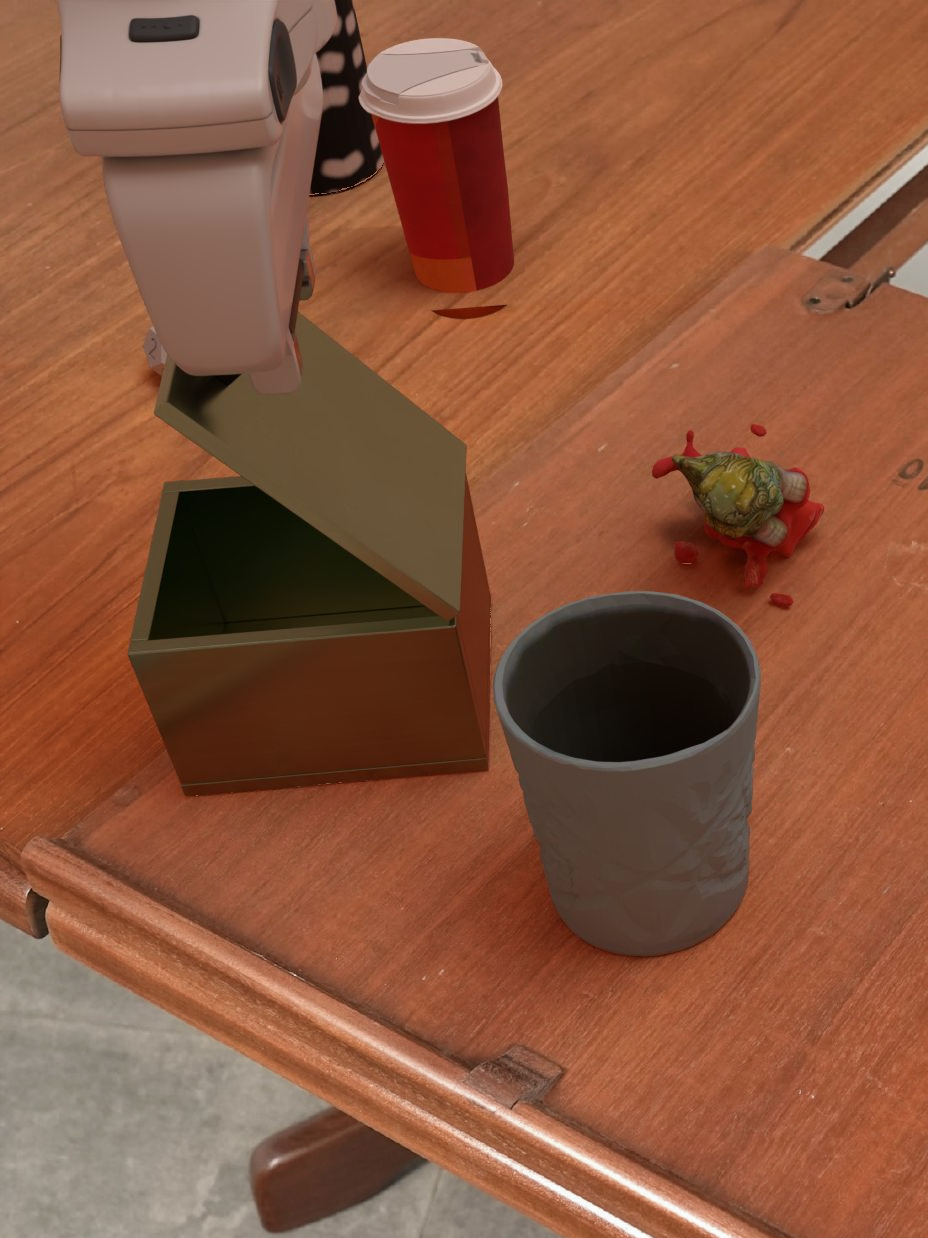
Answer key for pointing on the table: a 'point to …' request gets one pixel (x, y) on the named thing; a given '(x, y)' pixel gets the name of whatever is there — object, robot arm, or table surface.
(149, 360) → the game die
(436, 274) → the paper cup
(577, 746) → the grey cup
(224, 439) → the lid
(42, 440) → the table surface
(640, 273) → the table surface
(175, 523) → the bin
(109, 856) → the table surface
